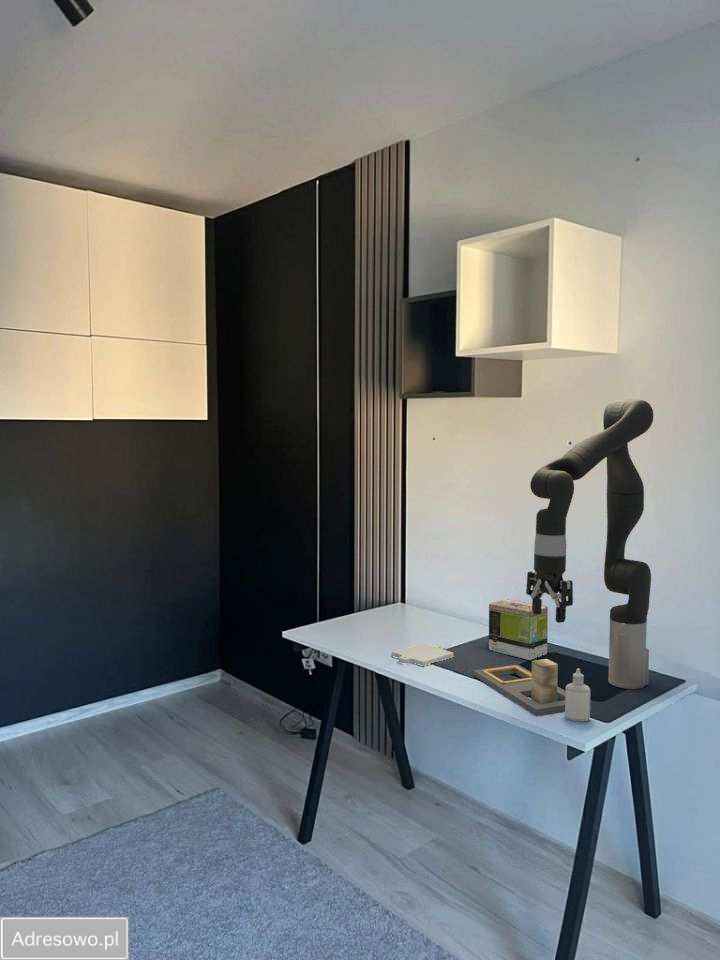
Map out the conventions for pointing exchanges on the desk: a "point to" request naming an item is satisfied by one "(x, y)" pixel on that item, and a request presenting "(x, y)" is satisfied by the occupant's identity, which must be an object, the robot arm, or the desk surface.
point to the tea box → (518, 629)
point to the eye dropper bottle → (577, 699)
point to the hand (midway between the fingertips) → (548, 618)
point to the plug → (544, 681)
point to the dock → (519, 688)
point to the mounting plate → (422, 654)
